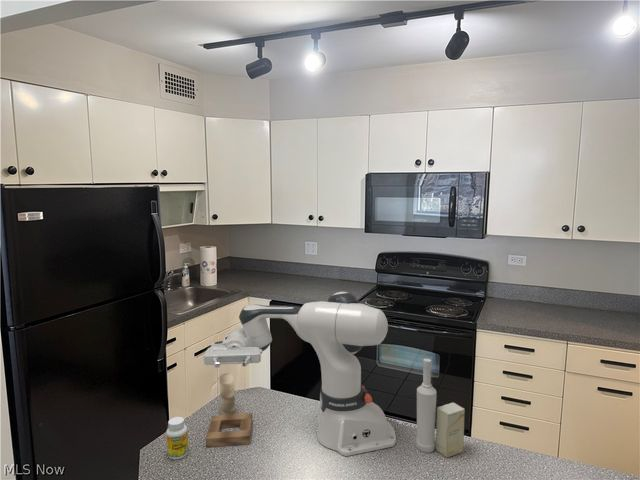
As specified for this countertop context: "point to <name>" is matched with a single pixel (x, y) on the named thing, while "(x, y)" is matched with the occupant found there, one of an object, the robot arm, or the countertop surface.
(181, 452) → the supplement bottle
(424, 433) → the bottle
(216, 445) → the socket block
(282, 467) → the countertop surface
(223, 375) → the dowel
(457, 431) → the skincare box
